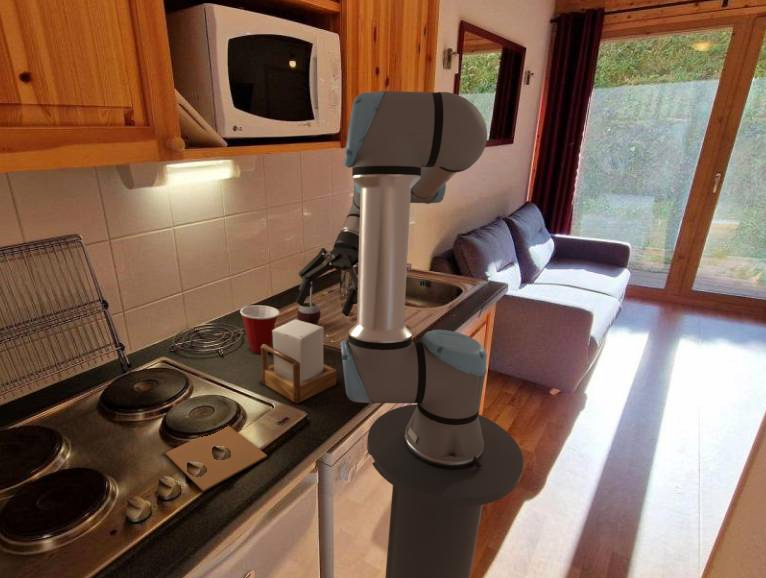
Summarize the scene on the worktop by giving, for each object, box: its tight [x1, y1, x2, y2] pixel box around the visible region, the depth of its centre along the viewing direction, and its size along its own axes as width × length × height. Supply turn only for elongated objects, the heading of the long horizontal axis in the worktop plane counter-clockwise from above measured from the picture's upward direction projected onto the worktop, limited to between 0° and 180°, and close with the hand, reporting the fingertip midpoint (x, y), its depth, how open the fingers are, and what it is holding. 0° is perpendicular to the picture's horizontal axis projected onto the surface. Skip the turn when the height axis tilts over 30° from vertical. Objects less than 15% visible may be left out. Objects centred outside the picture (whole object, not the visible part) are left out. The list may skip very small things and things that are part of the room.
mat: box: [164, 425, 268, 493], centre depth 92 cm, size 14×14×1 cm
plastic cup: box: [239, 304, 280, 355], centre depth 134 cm, size 11×11×12 cm
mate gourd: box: [297, 281, 322, 325], centre depth 147 cm, size 8×8×15 cm
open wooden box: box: [260, 344, 338, 405], centre depth 116 cm, size 13×13×11 cm
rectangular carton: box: [272, 318, 325, 383], centre depth 115 cm, size 9×9×15 cm
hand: (321, 308), depth 119 cm, fingers open, 13 cm apart
